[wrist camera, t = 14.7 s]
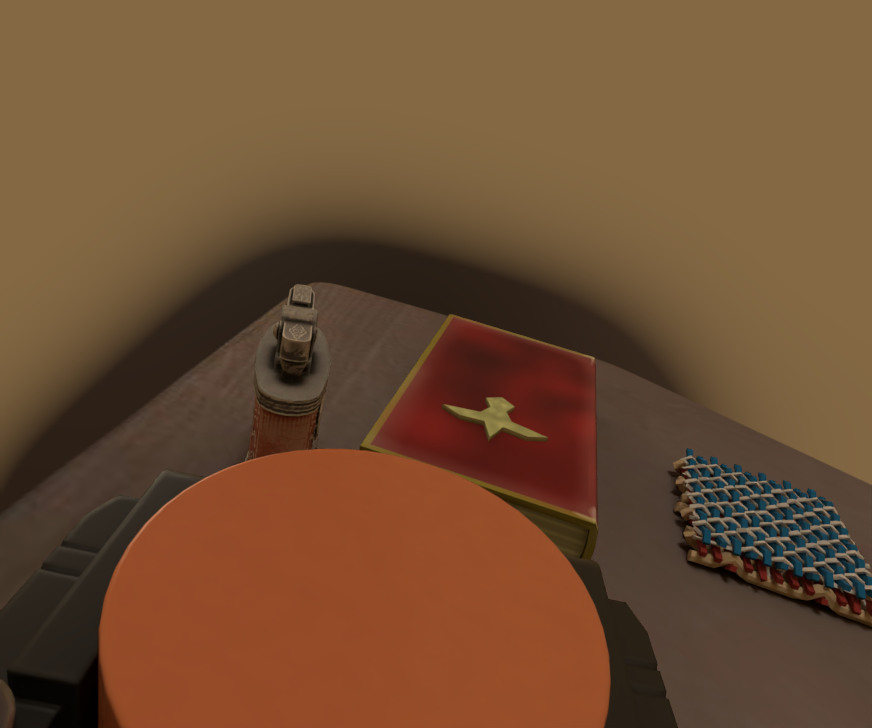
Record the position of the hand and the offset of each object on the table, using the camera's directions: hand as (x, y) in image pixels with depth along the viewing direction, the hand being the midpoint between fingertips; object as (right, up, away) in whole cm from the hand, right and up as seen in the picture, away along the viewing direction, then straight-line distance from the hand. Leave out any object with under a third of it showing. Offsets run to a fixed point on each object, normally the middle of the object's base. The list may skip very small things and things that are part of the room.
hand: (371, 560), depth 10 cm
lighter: (-7, -3, +22) cm, 24 cm away
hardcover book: (+4, -2, +31) cm, 31 cm away
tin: (-2, -8, +1) cm, 8 cm away
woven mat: (+20, -8, +28) cm, 36 cm away
